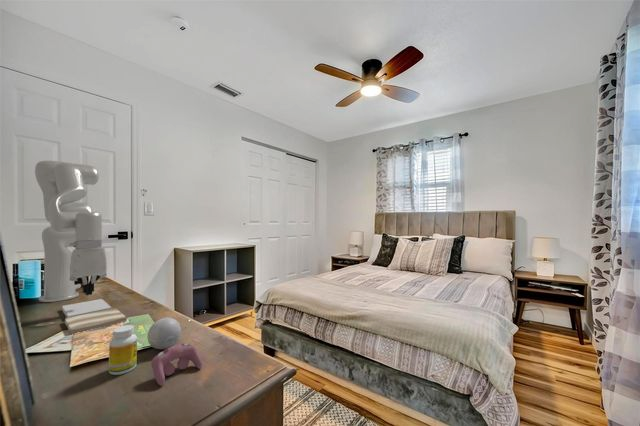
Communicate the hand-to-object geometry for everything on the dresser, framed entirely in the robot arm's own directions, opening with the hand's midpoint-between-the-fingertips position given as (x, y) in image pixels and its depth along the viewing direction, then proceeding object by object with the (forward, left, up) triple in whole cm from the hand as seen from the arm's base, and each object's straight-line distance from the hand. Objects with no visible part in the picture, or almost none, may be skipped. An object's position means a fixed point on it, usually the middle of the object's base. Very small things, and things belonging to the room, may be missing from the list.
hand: (88, 294), depth 102 cm
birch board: (+11, +9, -7) cm, 16 cm away
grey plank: (-2, -2, -7) cm, 7 cm away
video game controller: (+45, +48, -7) cm, 67 cm away
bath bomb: (+32, +40, -7) cm, 52 cm away
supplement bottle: (+42, +35, -7) cm, 55 cm away
